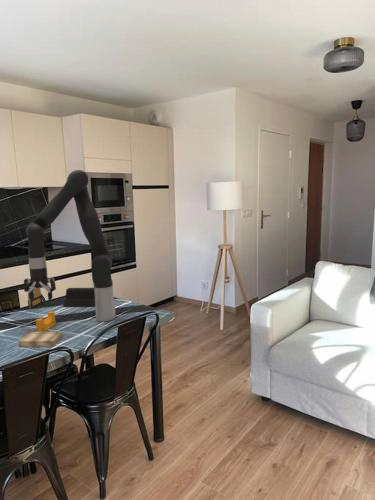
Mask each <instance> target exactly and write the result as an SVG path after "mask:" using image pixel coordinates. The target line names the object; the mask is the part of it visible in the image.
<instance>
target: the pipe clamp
mask: <svg viewBox="0 0 375 500" xmlns="http://www.w3.org/2000/svg"><path fill="white" fill-rule="evenodd" d="M35 325H36V332H47V331H48V330H49V329H51V328H52V327H54V326H55V325H56V314H55V311H48V312H47V317H46V318H36V320H35Z"/></svg>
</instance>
